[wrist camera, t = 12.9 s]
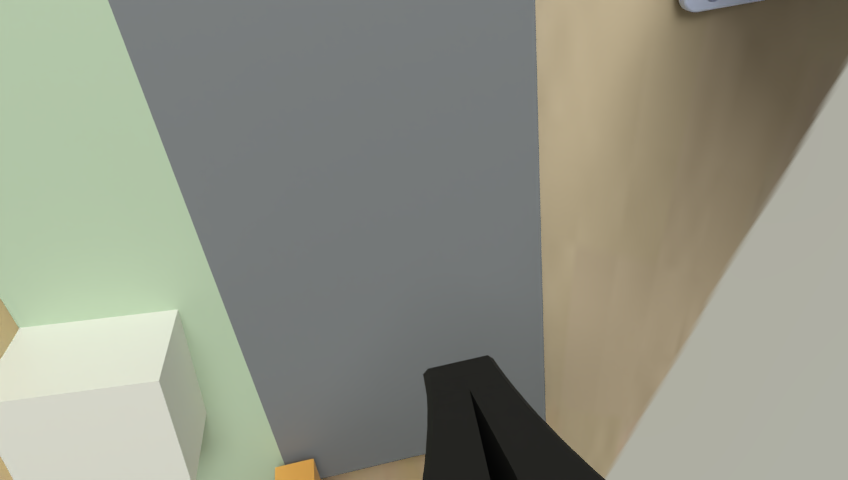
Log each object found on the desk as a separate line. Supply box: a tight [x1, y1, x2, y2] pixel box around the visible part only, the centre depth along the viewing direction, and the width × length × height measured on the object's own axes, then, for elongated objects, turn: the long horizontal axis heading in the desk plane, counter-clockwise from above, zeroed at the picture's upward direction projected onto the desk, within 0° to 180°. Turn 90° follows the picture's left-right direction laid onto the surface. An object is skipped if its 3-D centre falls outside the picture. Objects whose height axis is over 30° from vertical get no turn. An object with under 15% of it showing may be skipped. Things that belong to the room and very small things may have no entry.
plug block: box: [0, 309, 207, 480], centre depth 20 cm, size 5×5×4 cm
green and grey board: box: [0, 0, 546, 480], centre depth 21 cm, size 18×22×1 cm
